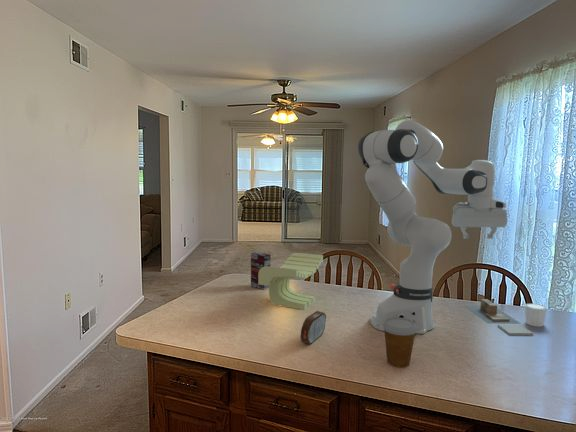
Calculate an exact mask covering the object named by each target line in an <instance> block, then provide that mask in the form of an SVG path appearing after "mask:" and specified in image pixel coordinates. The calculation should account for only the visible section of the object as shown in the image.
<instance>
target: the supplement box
mask: <svg viewBox="0 0 576 432" xmlns="http://www.w3.org/2000/svg"><path fill="white" fill-rule="evenodd" d="M271 256H272V255H271V254H269V253H264V252H259V251H256V252H252V253H250V287H251V286H253V287H252V288H256V287H257V288H256V289H259V288H261V289H260V290H263V289H265V290H268V289H269V287H268V286H267V285H259V284H258V273H259V270H260V269H261V268H262V267H264V266H268V267H271V259H272V257H271ZM267 288H268V289H267Z"/></svg>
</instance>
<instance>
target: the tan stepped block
mask: <svg viewBox="0 0 576 432" xmlns="http://www.w3.org/2000/svg"><path fill="white" fill-rule="evenodd" d="M480 306H481V307H480V309H481V310H483V311H484V312H485V313H487V314H486V316H487V317H488V318H489V319H491V320H492V321H510V319H508V318H507V317H505V316H504V315H502V314H497V308H498V305H497V304H496V303H494V302H492V301H491V300H489V299H486V298H480Z"/></svg>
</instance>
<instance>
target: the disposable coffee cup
mask: <svg viewBox="0 0 576 432" xmlns="http://www.w3.org/2000/svg"><path fill="white" fill-rule="evenodd" d="M383 327H384V331H383V332H384V340H385V350H386V351H385V353H386V362H387V364H388V365H390V366H391V367H395V368H407V367H409V366H410V365H411V364H410V363H411V358H412V353H413V347H414V341H415V336H416V334H417V333H416V331H417V327H416V324H415V322H414V321H412V320H409V319H406V318H399V317H393V318H388V319H386V320H385V322H384V324H383Z"/></svg>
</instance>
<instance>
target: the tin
mask: <svg viewBox="0 0 576 432" xmlns="http://www.w3.org/2000/svg"><path fill="white" fill-rule="evenodd" d="M326 320H327V314H326V313H325V312H322V311H319V310H316V311H314V312H313V313H311V314H309V315H308V316H307V317H306V318H305V319H304V321H303V323H302V325H301V329H300V341H301V342H302V343H303V344H308V345H312V344H313V343H315V341H317V340H318V339H319V338H320V337H321V336H322V335H323V334H324V331H325V329H326V328H325V327H326V323H327V321H326Z"/></svg>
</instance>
